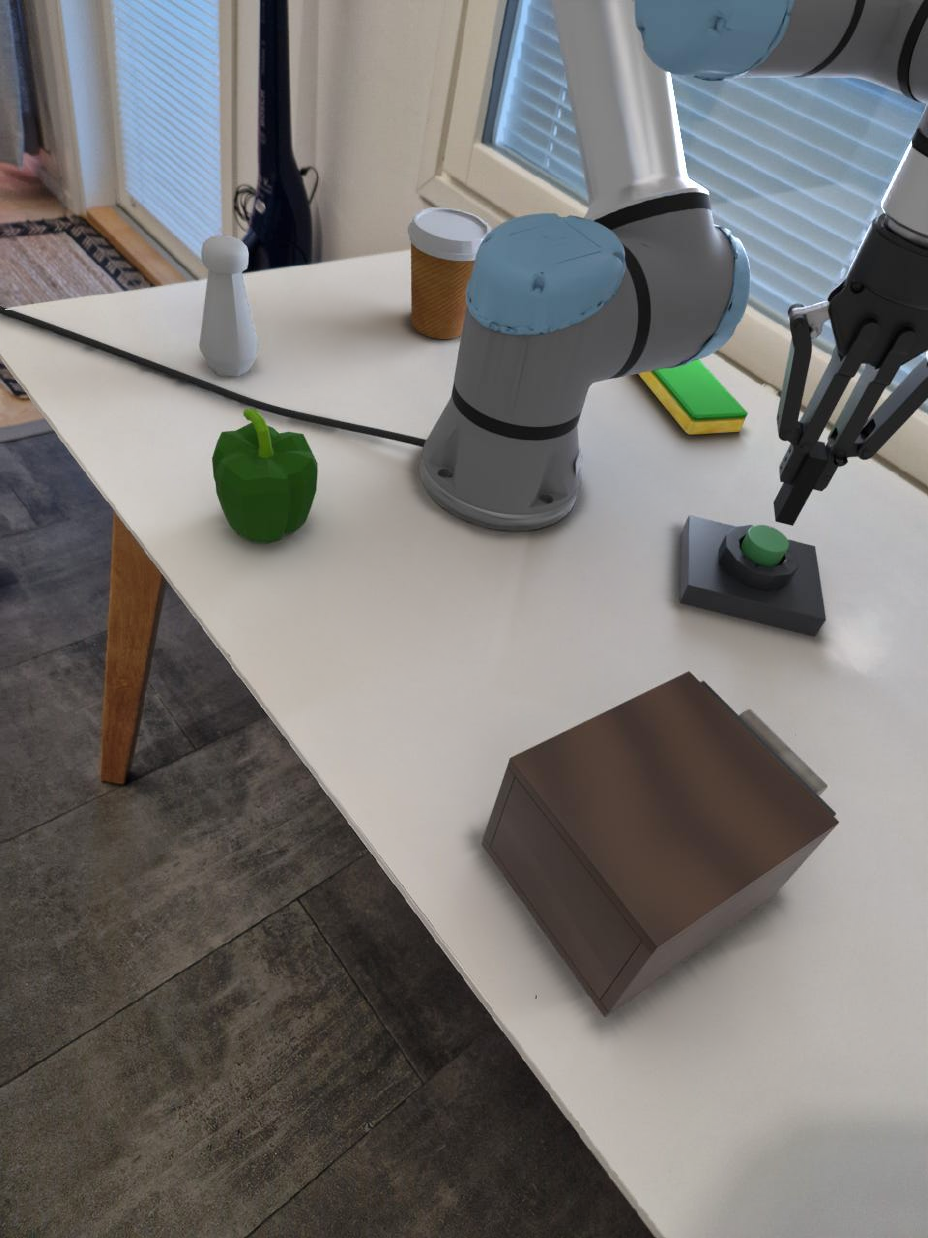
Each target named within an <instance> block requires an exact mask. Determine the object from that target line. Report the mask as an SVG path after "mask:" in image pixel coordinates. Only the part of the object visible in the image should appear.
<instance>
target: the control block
mask: <svg viewBox="0 0 928 1238" xmlns="http://www.w3.org/2000/svg"><path fill="white" fill-rule="evenodd" d="M753 526H755V525H754V524H747V525H739V526H738V525H737V526H735V525H732V524H727V523H723V522H718V521H715V520H711V519H707V518H703V517H699V516H695V515H692V514H689V515H688V516H687V518H686V521H685V523H684V525H683V527H682V530H681V534H680V567H679V568H680V572H679V604H683V605H687V606H691V607H694V608H698V609H702V610H706V611H709V612H714V613H719V614H722V615H727V616H730V617H734V618H738V619H741V620H747V621H750V622H753V623H758V624H762V625H765V626H770V627H773V628H778V629H782V630H786V631H789V632H794V633H798V634H802V635H806V636H810V637H814V638H815V637H816V636H817V634H818V633H819V631H820V630H821V628H822V627H823V625H824V624H825V622H826V620H827V616H826V610H825V602H824V596H823V589H822V582H821V576H820V570H819V569H820V568H819V562H818V555H817V549H816V545H813V544H812V545H811V544H808V543H804V542H800V541H796V540H792V539H788V538H787V540H788V542H789V547H788V549H787V551H786V552H785V554H784V556H783V558H782V560H781V561H780V563H779V564H778V565H776V566H766V565H762V564H758V563H756V562H755V561H753V560H751V559H750V558H748V557H746V556H745V554H744V553H743V552H742V551H741V544H742V542H743V540H744V538H745V536H746V534H747V532H748V530H749V529H750V528H751V527H753Z"/></svg>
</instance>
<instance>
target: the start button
mask: <svg viewBox="0 0 928 1238" xmlns="http://www.w3.org/2000/svg"><path fill="white" fill-rule="evenodd" d="M787 539H788V538H787V537H786V535H785V534H784V533H783V532H781V531H780V530H778V529H777V528H775V527H772V526H770V525H766V524H756V525H754V526H753V527H751V528H750V529H749V530H748V532H747V534H746V536H745V538H744V540H743V542H742V544H741V551H742V552H743V553H744V554H745V556H746V557H748V558H750V559H751V560H753V561H755V562H756V563H758V564H762V565H766V566H776V565H778V564H779V563H780V561H781V560H782V558H783V556H784V554H785V552H786V551H787V549H788V547H789V542H788V540H789V539H788V540H787Z"/></svg>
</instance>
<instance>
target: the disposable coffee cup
mask: <svg viewBox="0 0 928 1238" xmlns="http://www.w3.org/2000/svg"><path fill="white" fill-rule="evenodd" d="M490 231H492V228H491V225H490V224H489V223H488V222H487V221H486V220H485V219H484V218H482V217H480V216H478V215H476V214H474V213H471V212H469V211H465V210H462V209H457V208H451V207H444V206H443V207H441V206H439V207H437V206H436V207H435V206H433V207H426V208H422V209H420V210H417V211H416V212H415V213H414V215H413V216H412V219H411V222H410V223H409V224H408V225H407V234H408V237H409V238H408V239H409V241H410V276H411V277H410V292H411V293H410V295H411V296H410V301H411V302H410V305H411V306H410V307H411V313H410V315H411V317H410V318H411V319H410V320H411V326H412V327H413V329H414V330H415V331H417V333H419V334H421V335H422V336H426V337H429V338H432V339H438V340H452V339H456V338H458V337H461V335H462V329H463V323H464V317H465V311H466V305H467V303H466V289H467V285H468V282H469V279H470V276H471V275H472V272H473V267H474V263H475V258H476V254H477V251H478V249H479V246H480V244H481V242H482V241H483V239H484V238H485V237H486V235H487V234H488V233H489V232H490Z"/></svg>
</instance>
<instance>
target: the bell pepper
mask: <svg viewBox="0 0 928 1238" xmlns="http://www.w3.org/2000/svg"><path fill="white" fill-rule="evenodd" d="M243 417H244V418H245V419H246V421H250V423H248V424H246V425H245V426H242V427H240V428H237V429H235V430H226V431H221V433H220V435H219V437H218V439H217V440H216V444H215V447H214V450H213V453H212V457H211V462H212V463H211V465H212V474H213V475H212V476H213V479H214V483H215V492H216V496H217V499H218V501H219V504H220V507H221V509H222V512H223V515H224V516H225V518H226V520H227V522H228V524H229V526H230V527H231V529H232V530H233V531H234V532H235V533H236V534H237V535H238V536H240V537H242V538H243V539H245V540H247V541H249V542H251V543H261V544H272V543H274V542H277V541H281V540H282V539H283V537H284V535H285V534H292V533H294V532H296V531H298V530H299V529H300V528H301V527H303V526H304V524H305V523H306V522H307V520H308V517H309V514H310V511H311V509H312V506H313V503H314V500H315V497H316V494H317V490H318V489H317V487H318V474H319V473H318V472H319V468H318V467H319V466H318V465H319V464H318V461H317V459H316V457H315V455H314V453H313V450H312V448H311V446H310V444H309V442H308V441H307V438H306V437H305V434H304V433H299V432H293V431H284V432H279V431H277V430H276V428H275V427H273V426H270V425H268V424H267V422H266V420H265V418H264V417H263V416H262V414H261V413H260V412H259V411H258V410H256V409H255V408H253V407H249V408H245V409H244V410H243Z"/></svg>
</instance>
